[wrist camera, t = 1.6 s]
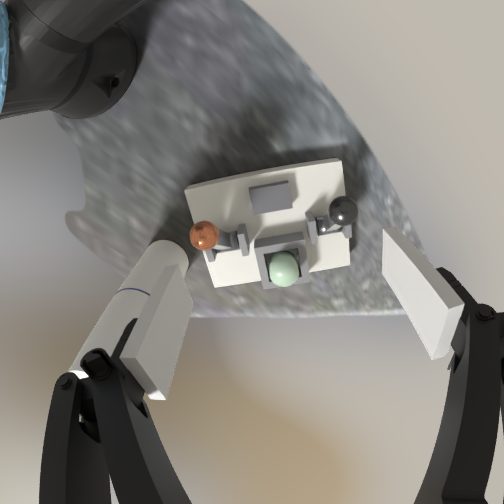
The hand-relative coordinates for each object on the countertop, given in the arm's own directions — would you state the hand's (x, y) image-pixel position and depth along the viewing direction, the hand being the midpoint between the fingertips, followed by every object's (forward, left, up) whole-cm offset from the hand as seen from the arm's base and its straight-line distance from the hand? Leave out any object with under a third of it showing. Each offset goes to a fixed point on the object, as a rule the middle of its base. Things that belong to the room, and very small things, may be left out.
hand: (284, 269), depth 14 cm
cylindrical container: (+10, -18, -24) cm, 32 cm away
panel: (+7, -1, -24) cm, 25 cm away
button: (+11, 0, -20) cm, 23 cm away
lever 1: (+8, -7, -21) cm, 23 cm away
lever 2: (+8, +6, -21) cm, 23 cm away
